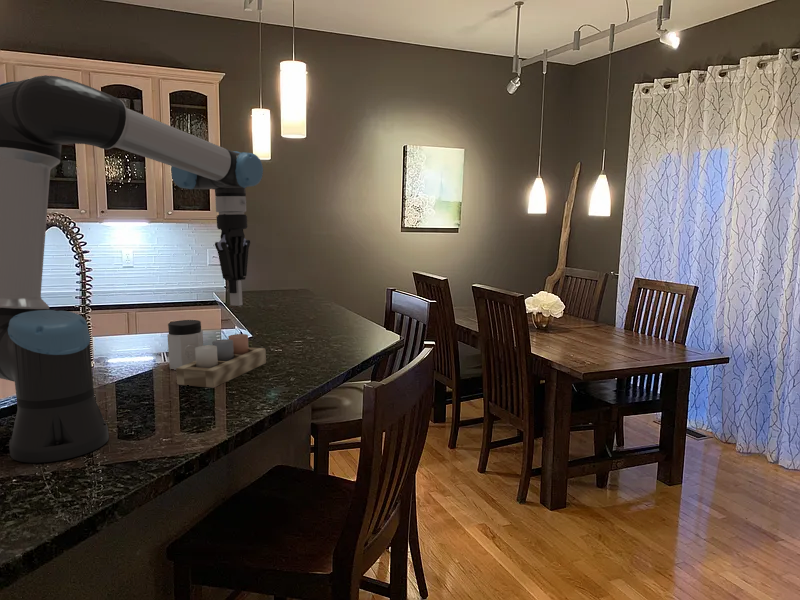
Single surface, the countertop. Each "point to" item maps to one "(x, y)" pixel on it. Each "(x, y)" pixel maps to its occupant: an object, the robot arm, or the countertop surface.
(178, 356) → the jar
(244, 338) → the brown piece
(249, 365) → the patterned wooden tray
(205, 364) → the key ivory
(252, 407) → the countertop surface
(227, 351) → the grey cylinder
